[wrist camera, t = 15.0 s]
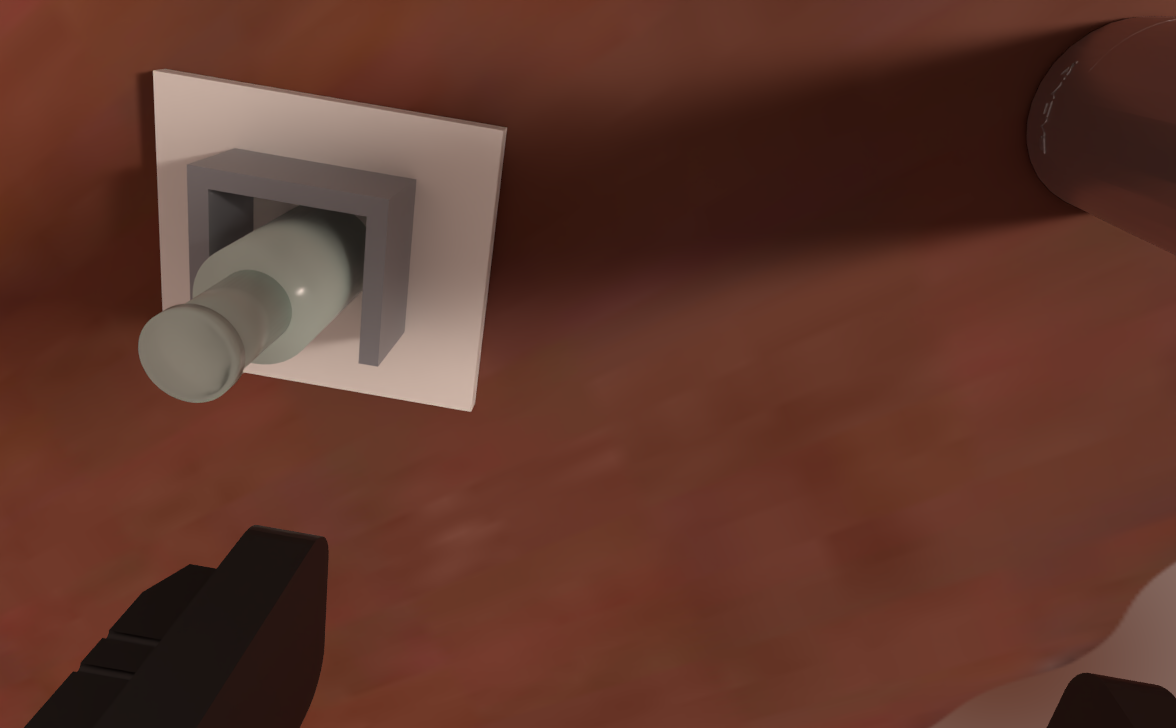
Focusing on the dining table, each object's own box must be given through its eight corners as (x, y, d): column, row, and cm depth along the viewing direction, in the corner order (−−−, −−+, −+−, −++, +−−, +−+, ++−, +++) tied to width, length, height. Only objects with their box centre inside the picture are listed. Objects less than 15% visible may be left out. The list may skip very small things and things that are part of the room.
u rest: (507, 127, 45) (485, 145, 39) (475, 402, 51) (452, 453, 45) (165, 68, 45) (93, 78, 39) (175, 350, 51) (114, 394, 45)
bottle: (379, 211, 46) (260, 301, 32) (373, 309, 48) (259, 434, 34) (274, 192, 46) (110, 275, 32) (273, 292, 48) (119, 409, 34)
